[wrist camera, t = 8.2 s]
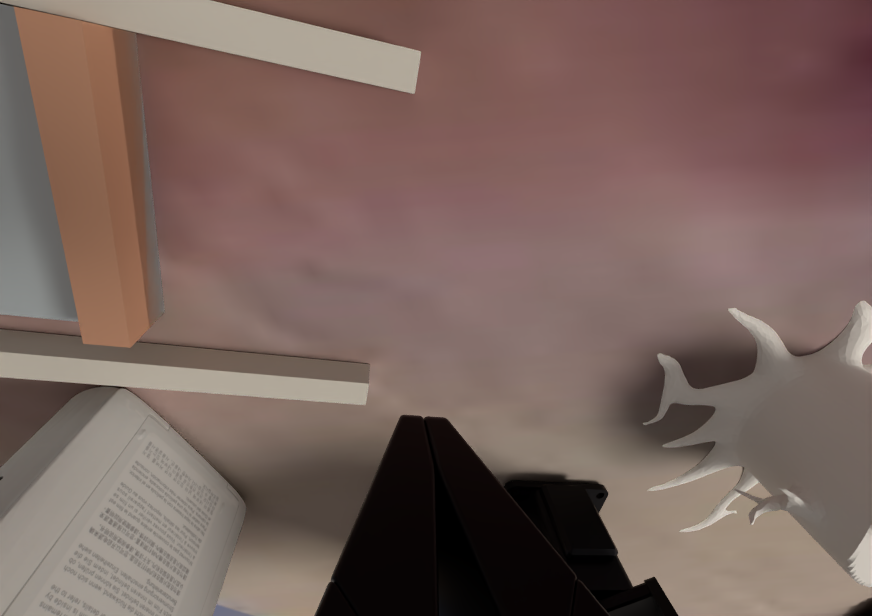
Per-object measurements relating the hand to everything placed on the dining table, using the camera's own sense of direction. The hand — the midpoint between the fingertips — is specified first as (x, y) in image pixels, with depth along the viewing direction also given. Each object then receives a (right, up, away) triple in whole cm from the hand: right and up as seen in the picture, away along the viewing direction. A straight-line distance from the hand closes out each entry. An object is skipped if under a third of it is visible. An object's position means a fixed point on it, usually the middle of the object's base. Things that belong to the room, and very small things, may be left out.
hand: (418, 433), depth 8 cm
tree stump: (+21, -4, +18) cm, 28 cm away
